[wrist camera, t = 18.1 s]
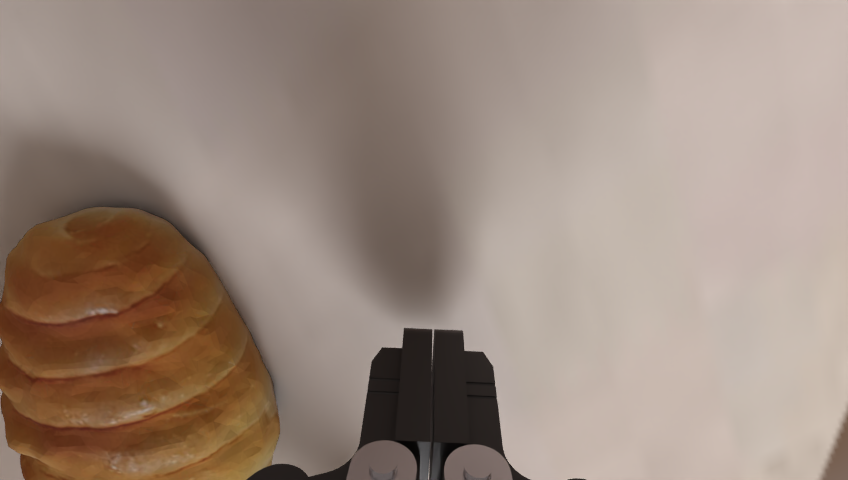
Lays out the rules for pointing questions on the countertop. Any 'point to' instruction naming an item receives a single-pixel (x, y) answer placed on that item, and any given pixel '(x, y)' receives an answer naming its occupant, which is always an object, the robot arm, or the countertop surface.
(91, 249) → the pastry
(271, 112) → the countertop surface
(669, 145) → the countertop surface
